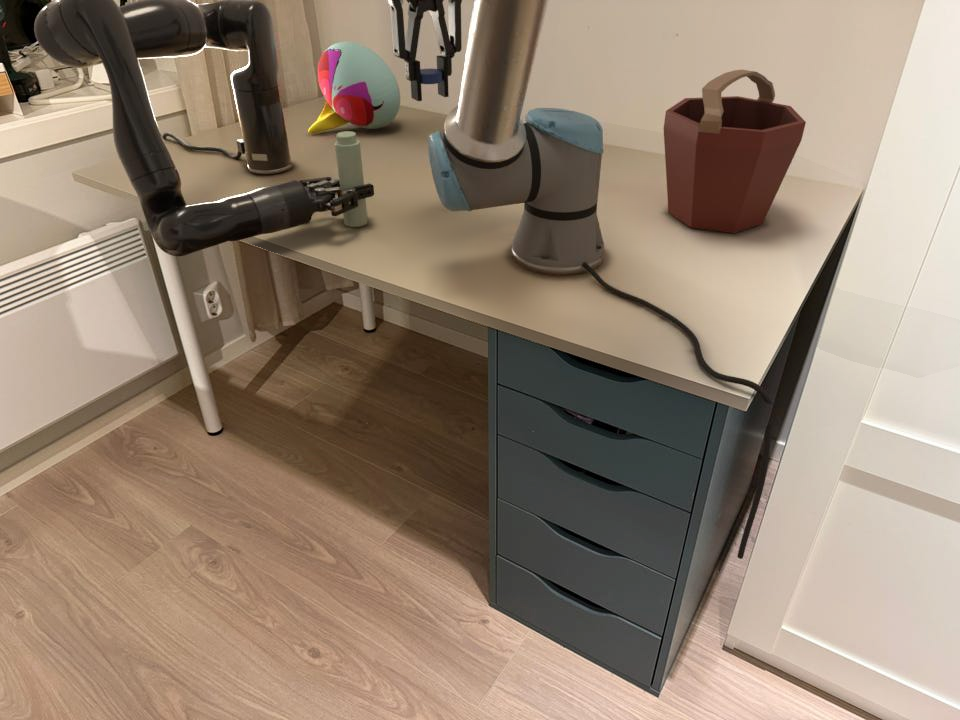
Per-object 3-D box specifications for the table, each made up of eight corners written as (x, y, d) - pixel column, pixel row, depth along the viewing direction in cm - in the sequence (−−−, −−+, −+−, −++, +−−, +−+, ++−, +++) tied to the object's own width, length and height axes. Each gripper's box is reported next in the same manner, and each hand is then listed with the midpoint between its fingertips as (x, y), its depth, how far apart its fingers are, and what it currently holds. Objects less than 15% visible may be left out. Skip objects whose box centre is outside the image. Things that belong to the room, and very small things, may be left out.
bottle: (346, 217, 132) (335, 130, 123) (369, 217, 132) (360, 130, 123) (342, 227, 128) (331, 137, 119) (366, 226, 128) (356, 137, 119)
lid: (431, 85, 122) (431, 75, 121) (410, 82, 124) (410, 72, 123) (447, 80, 125) (447, 70, 124) (426, 77, 127) (426, 67, 126)
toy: (277, 110, 181) (275, 51, 163) (352, 72, 191) (358, 13, 173) (336, 175, 178) (341, 122, 160) (410, 134, 188) (421, 79, 170)
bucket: (710, 250, 119) (740, 96, 105) (622, 208, 134) (638, 69, 120) (804, 218, 129) (843, 75, 115) (713, 183, 145) (736, 53, 131)
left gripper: (292, 198, 113) (384, 175, 121) (256, 175, 122) (344, 155, 131) (299, 242, 117) (388, 216, 125) (264, 215, 126) (349, 194, 135)
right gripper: (460, -57, 119) (463, 86, 133) (363, -52, 112) (376, 99, 125) (482, -55, 114) (483, 95, 127) (382, -49, 107) (393, 109, 120)
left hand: (365, 185), depth 128 cm, fingers closed on bottle, 4 cm apart
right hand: (430, 97), depth 126 cm, fingers closed on lid, 5 cm apart
